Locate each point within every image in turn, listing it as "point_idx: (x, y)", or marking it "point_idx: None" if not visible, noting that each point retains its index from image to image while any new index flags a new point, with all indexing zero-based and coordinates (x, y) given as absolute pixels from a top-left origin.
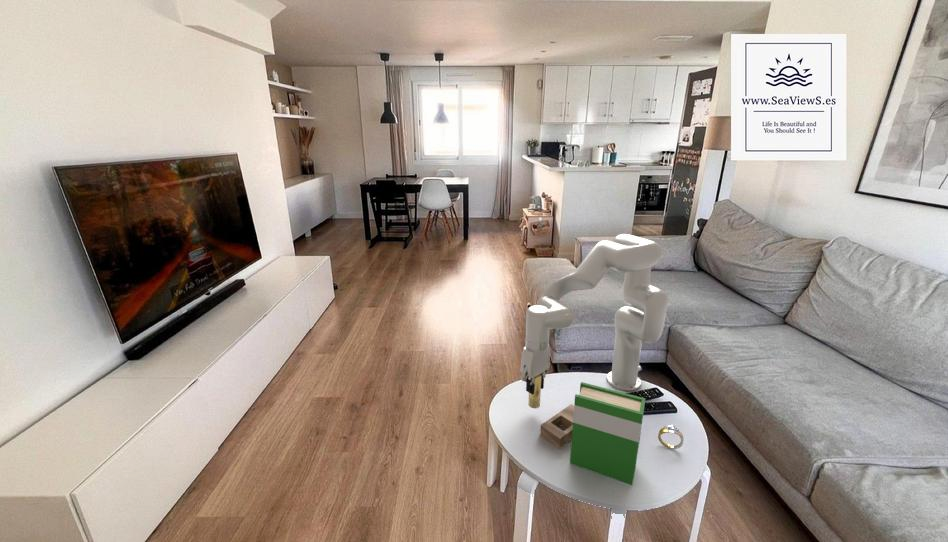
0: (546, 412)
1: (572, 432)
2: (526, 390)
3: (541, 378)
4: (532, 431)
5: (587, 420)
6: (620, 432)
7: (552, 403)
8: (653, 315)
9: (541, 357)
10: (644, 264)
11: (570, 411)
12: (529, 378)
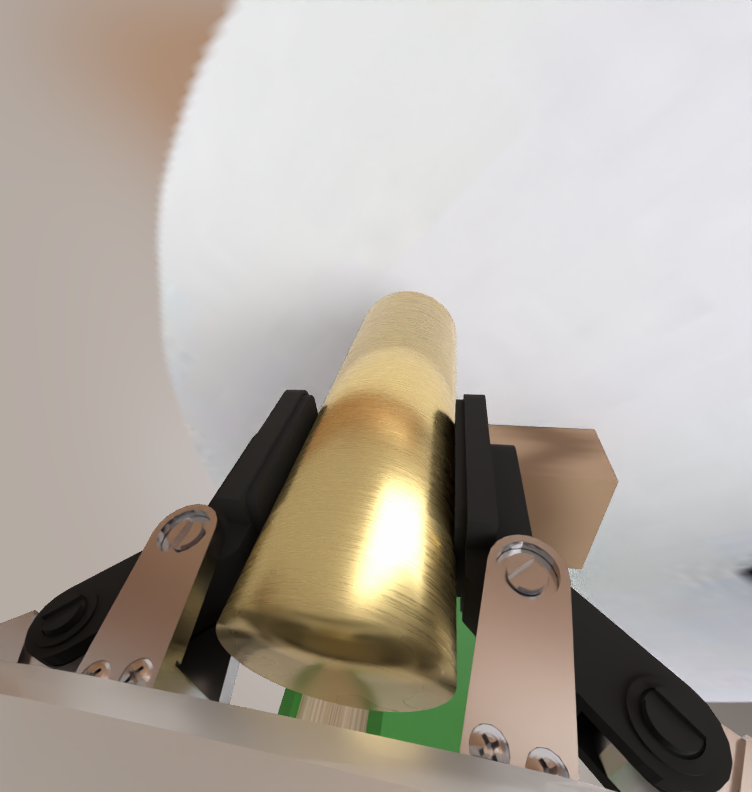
0: (500, 337)
1: (285, 690)
2: (287, 394)
3: (462, 596)
4: (317, 382)
5: None
6: None
7: (625, 302)
8: None
9: None
10: None
11: (538, 505)
12: (257, 541)
